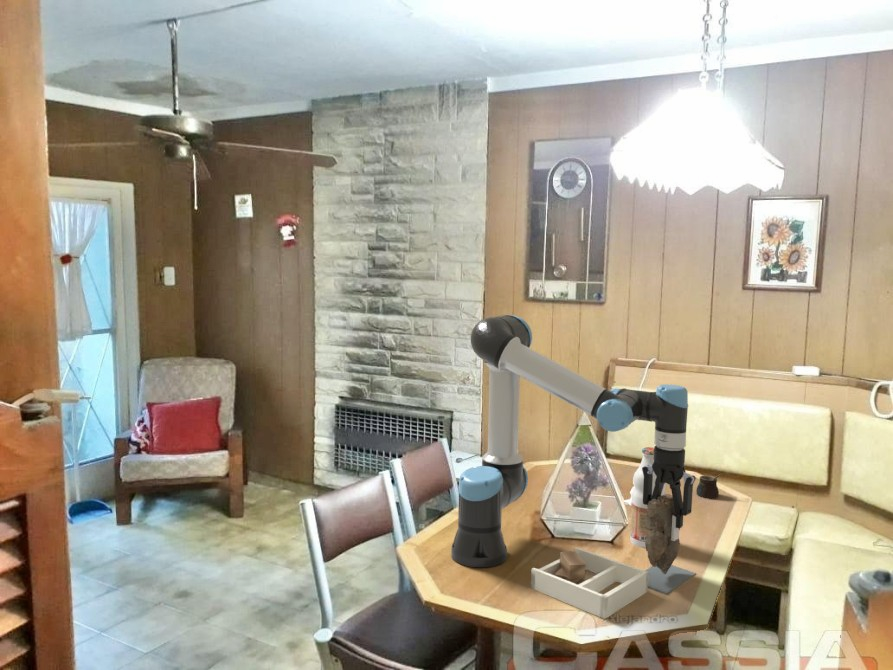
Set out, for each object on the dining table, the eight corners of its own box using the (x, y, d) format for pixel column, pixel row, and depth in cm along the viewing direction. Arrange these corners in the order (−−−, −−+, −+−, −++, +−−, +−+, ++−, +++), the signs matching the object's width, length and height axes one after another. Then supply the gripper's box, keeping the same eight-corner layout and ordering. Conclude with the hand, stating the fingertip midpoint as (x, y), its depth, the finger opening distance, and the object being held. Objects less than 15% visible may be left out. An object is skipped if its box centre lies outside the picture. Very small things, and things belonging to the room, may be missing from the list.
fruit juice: (623, 541, 205) (627, 446, 202) (647, 536, 209) (652, 443, 206) (645, 553, 197) (650, 455, 194) (671, 547, 201) (676, 451, 198)
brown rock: (667, 561, 188) (672, 488, 186) (684, 567, 184) (689, 493, 182) (639, 577, 178) (644, 500, 176) (657, 584, 175) (662, 506, 172)
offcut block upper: (569, 578, 173) (569, 565, 172) (559, 565, 181) (560, 551, 180) (584, 578, 173) (585, 564, 173) (574, 564, 181) (575, 551, 181)
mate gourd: (694, 496, 246) (695, 468, 245) (717, 497, 245) (718, 469, 244) (697, 503, 239) (698, 474, 238) (721, 504, 238) (722, 475, 237)
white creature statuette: (616, 508, 233) (617, 472, 232) (631, 502, 239) (632, 467, 238) (641, 515, 226) (643, 479, 225) (656, 509, 232) (657, 474, 231)
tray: (530, 588, 174) (531, 568, 174) (575, 565, 188) (576, 547, 188) (604, 619, 160) (605, 597, 159) (647, 591, 174) (648, 572, 173)
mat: (629, 581, 179) (629, 579, 179) (660, 563, 190) (660, 561, 190) (666, 594, 172) (666, 592, 172) (696, 574, 183) (696, 573, 183)
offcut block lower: (554, 587, 176) (554, 574, 175) (566, 575, 182) (567, 562, 182) (569, 591, 173) (569, 578, 173) (581, 579, 180) (581, 566, 180)
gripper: (630, 442, 181) (626, 530, 184) (696, 456, 169) (691, 550, 171) (645, 437, 187) (641, 523, 189) (710, 451, 174) (705, 542, 177)
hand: (665, 536), depth 180 cm, fingers closed on brown rock, 5 cm apart
